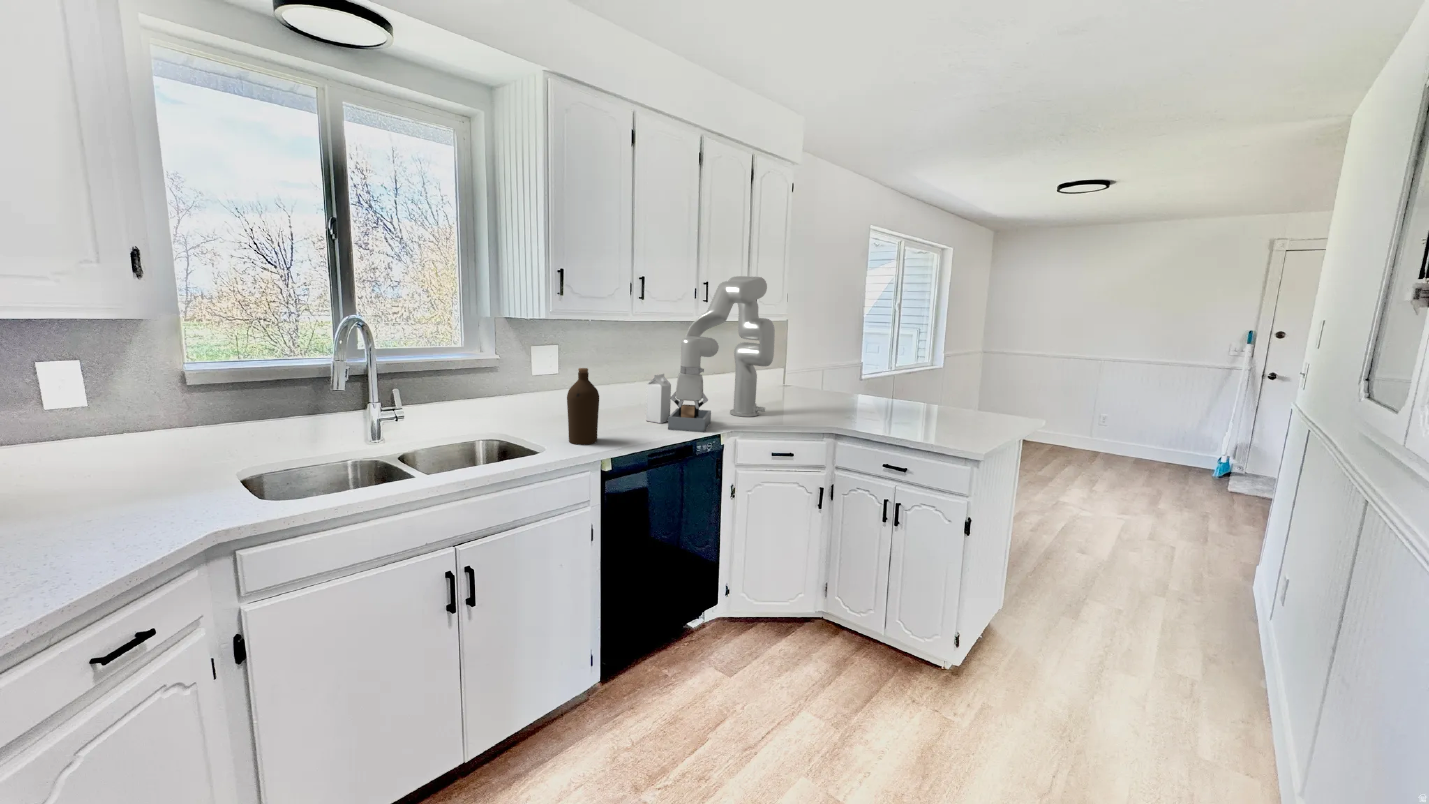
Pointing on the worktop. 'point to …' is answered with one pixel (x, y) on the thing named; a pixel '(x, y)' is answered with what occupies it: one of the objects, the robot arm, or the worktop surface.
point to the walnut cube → (688, 411)
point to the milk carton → (658, 399)
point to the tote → (689, 421)
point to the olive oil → (583, 410)
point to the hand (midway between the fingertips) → (688, 417)
